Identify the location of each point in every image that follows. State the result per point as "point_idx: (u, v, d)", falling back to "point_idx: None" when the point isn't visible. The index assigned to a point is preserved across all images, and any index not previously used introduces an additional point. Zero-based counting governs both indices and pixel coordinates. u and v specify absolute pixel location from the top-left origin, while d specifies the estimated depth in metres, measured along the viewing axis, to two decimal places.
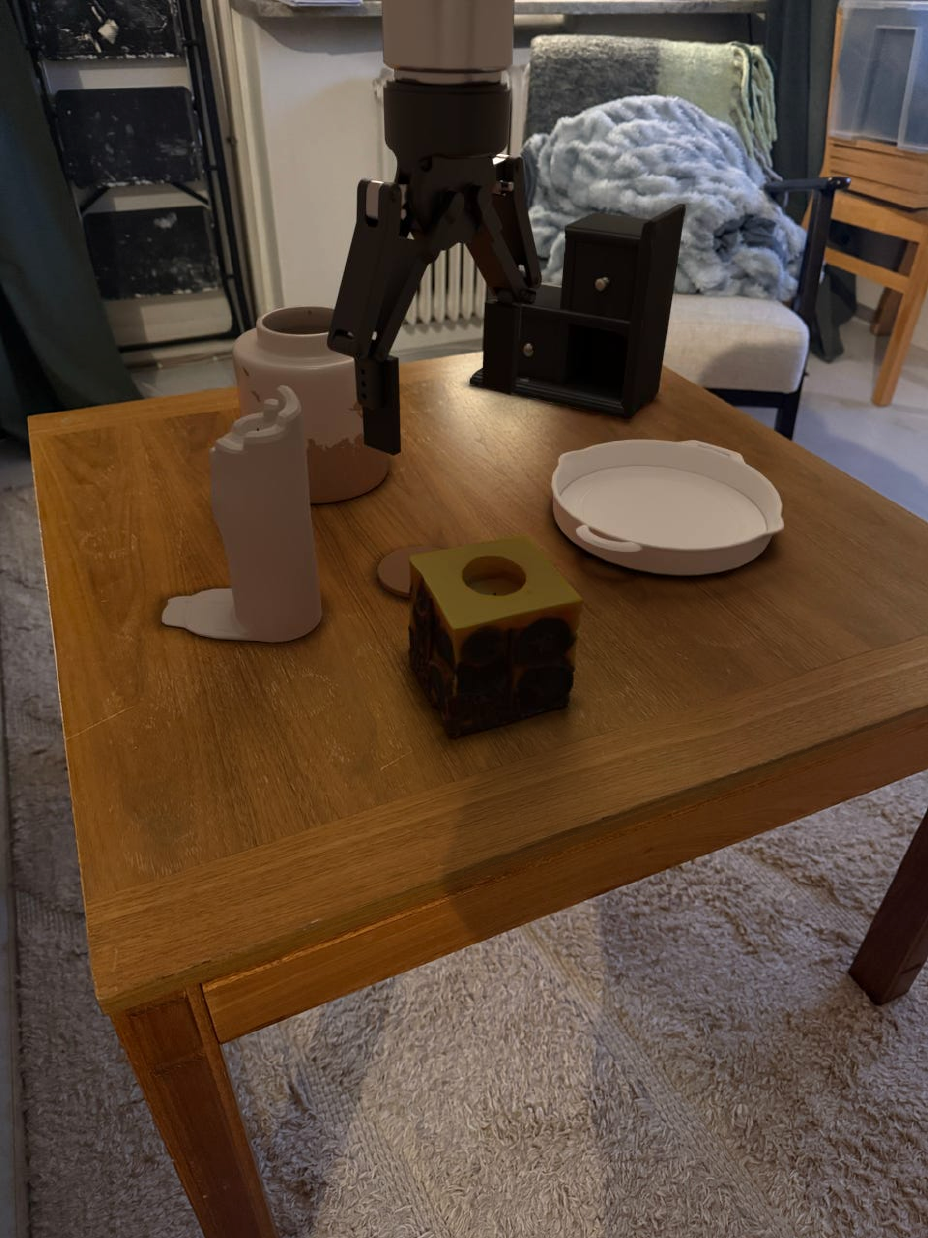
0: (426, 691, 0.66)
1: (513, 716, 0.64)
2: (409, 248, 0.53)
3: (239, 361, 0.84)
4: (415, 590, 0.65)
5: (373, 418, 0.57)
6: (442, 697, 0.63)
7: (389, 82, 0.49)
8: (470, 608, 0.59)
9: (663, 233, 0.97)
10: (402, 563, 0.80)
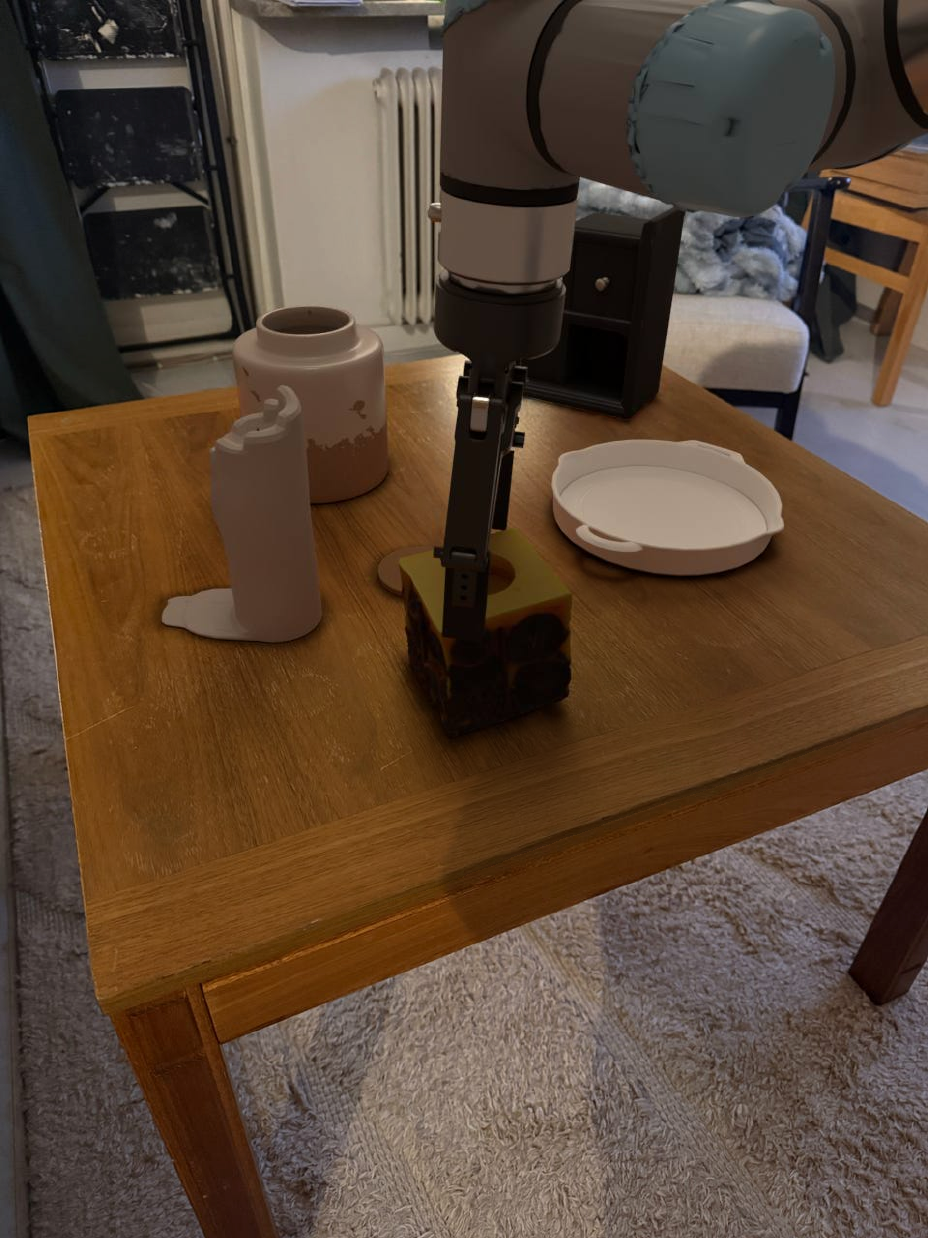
0: (425, 692, 0.66)
1: (512, 713, 0.64)
2: None
3: (239, 361, 0.84)
4: (407, 592, 0.64)
5: (458, 612, 0.55)
6: (439, 699, 0.63)
7: (462, 291, 0.47)
8: None
9: (663, 233, 0.97)
10: None
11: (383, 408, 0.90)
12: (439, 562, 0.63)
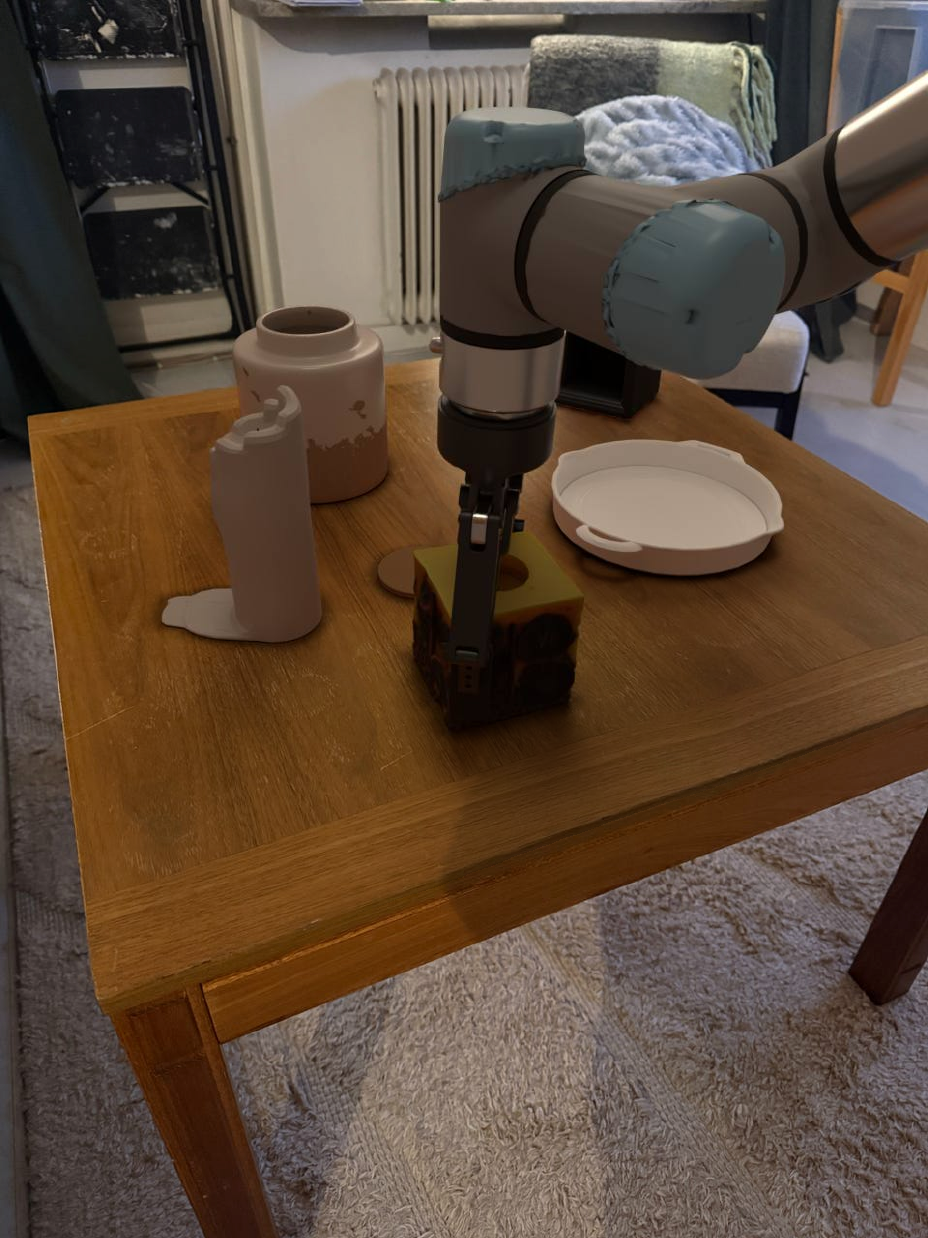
0: (429, 685, 0.67)
1: (514, 711, 0.64)
2: None
3: (239, 361, 0.84)
4: (419, 584, 0.65)
5: (464, 695, 0.60)
6: (444, 691, 0.63)
7: (461, 418, 0.52)
8: None
9: None
10: (402, 563, 0.80)
11: (383, 408, 0.90)
12: (454, 557, 0.64)
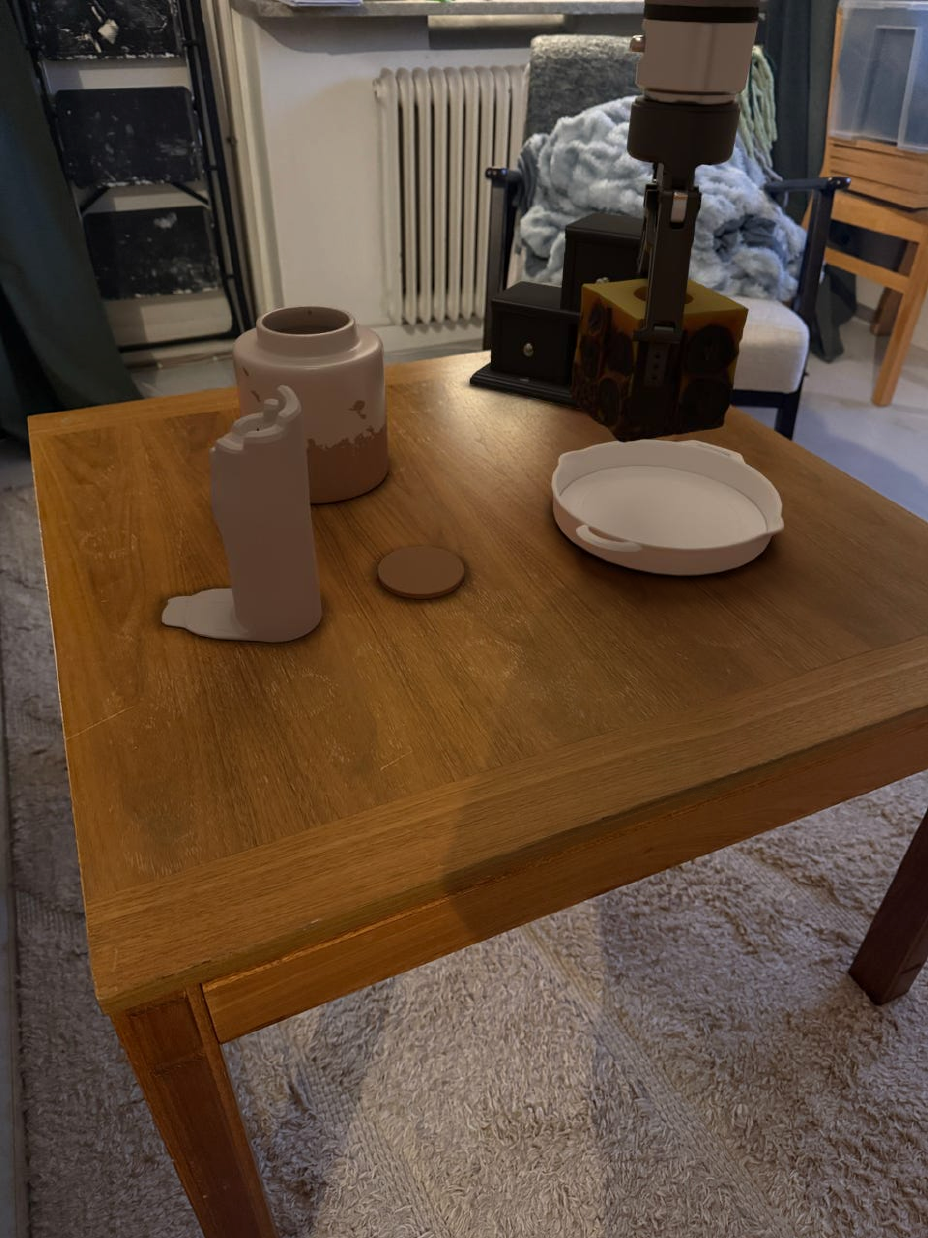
0: (592, 415, 0.72)
1: (675, 430, 0.70)
2: None
3: (239, 361, 0.84)
4: (586, 317, 0.71)
5: (644, 396, 0.66)
6: (613, 407, 0.69)
7: (662, 104, 0.58)
8: None
9: None
10: (402, 563, 0.80)
11: (383, 408, 0.90)
12: (621, 287, 0.70)
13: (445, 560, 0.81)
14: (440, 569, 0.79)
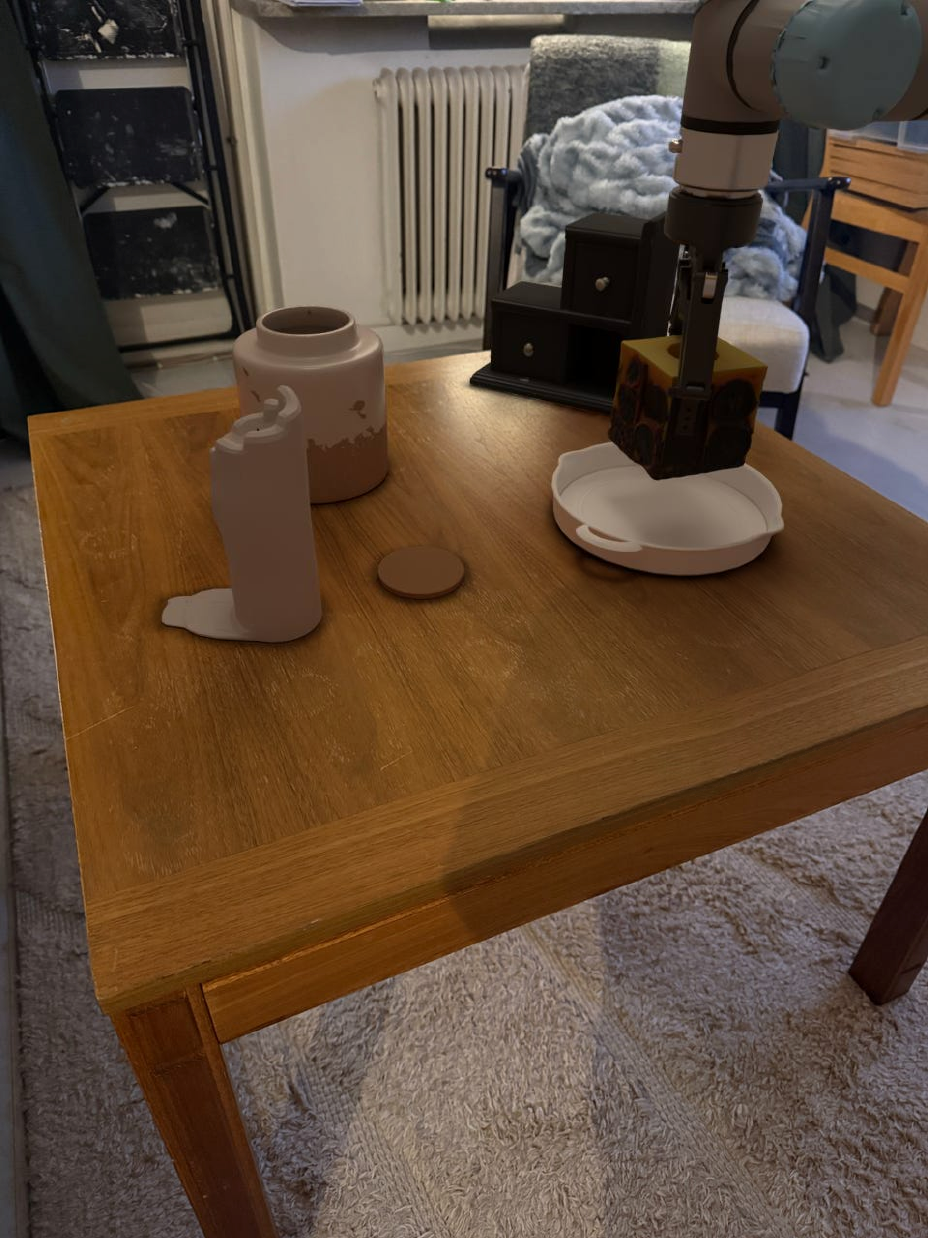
0: (628, 454, 0.82)
1: (702, 469, 0.80)
2: None
3: (239, 361, 0.84)
4: (625, 369, 0.81)
5: (676, 442, 0.76)
6: (648, 449, 0.79)
7: (695, 199, 0.68)
8: None
9: (663, 233, 0.97)
10: (402, 563, 0.80)
11: (383, 408, 0.90)
12: (655, 344, 0.80)
13: (445, 560, 0.81)
14: (440, 569, 0.79)
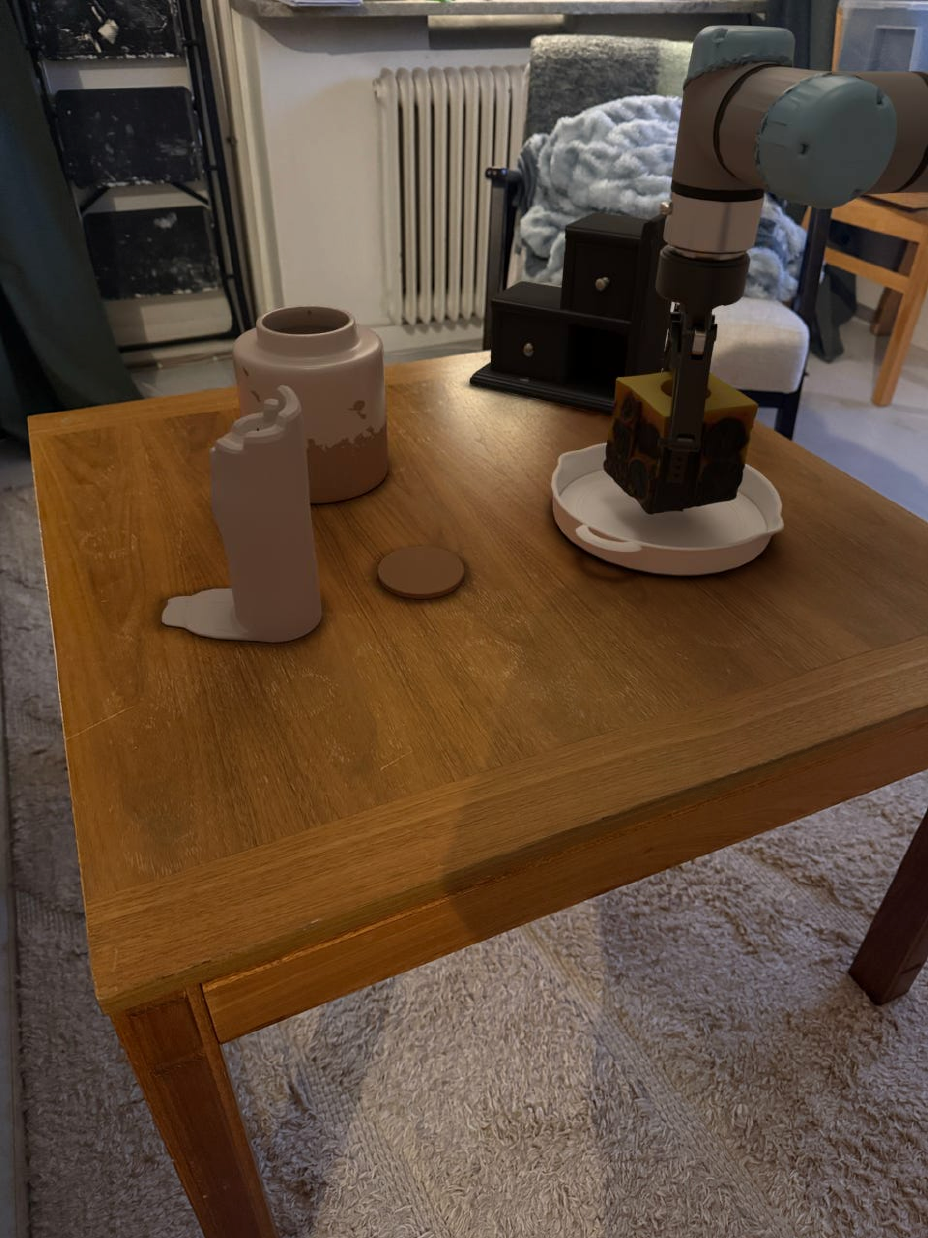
0: (623, 487, 0.85)
1: (695, 503, 0.82)
2: None
3: (239, 361, 0.84)
4: (619, 405, 0.83)
5: (668, 488, 0.78)
6: (642, 484, 0.81)
7: (685, 260, 0.71)
8: None
9: (663, 233, 0.97)
10: (402, 563, 0.80)
11: (383, 408, 0.90)
12: (649, 381, 0.82)
13: (445, 560, 0.81)
14: (440, 569, 0.79)
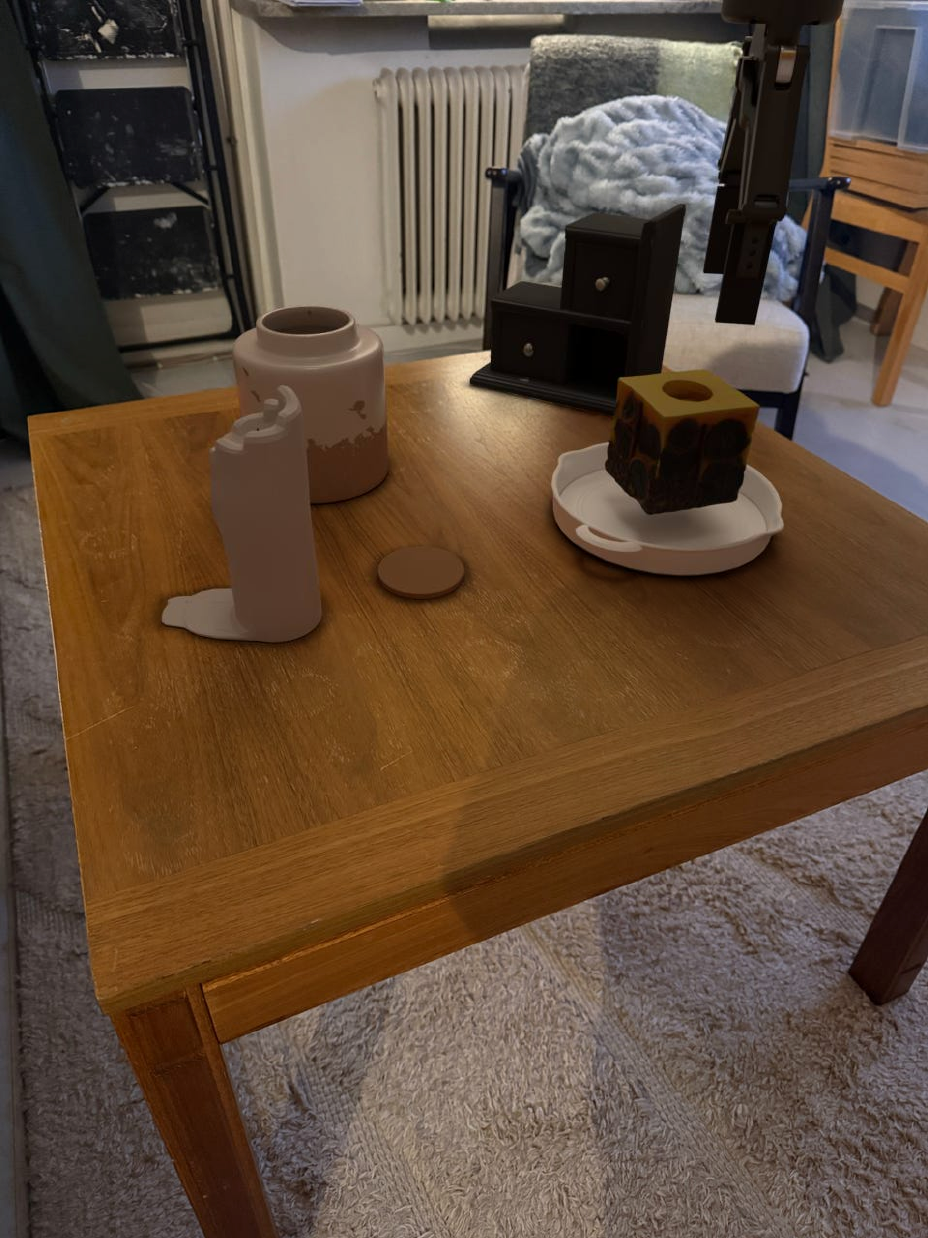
0: (623, 487, 0.85)
1: (695, 504, 0.82)
2: None
3: (239, 361, 0.84)
4: (621, 405, 0.83)
5: (736, 291, 0.60)
6: (642, 484, 0.81)
7: None
8: (675, 406, 0.77)
9: (663, 233, 0.97)
10: (402, 563, 0.80)
11: (383, 408, 0.90)
12: (651, 382, 0.82)
13: (445, 560, 0.81)
14: (440, 569, 0.79)
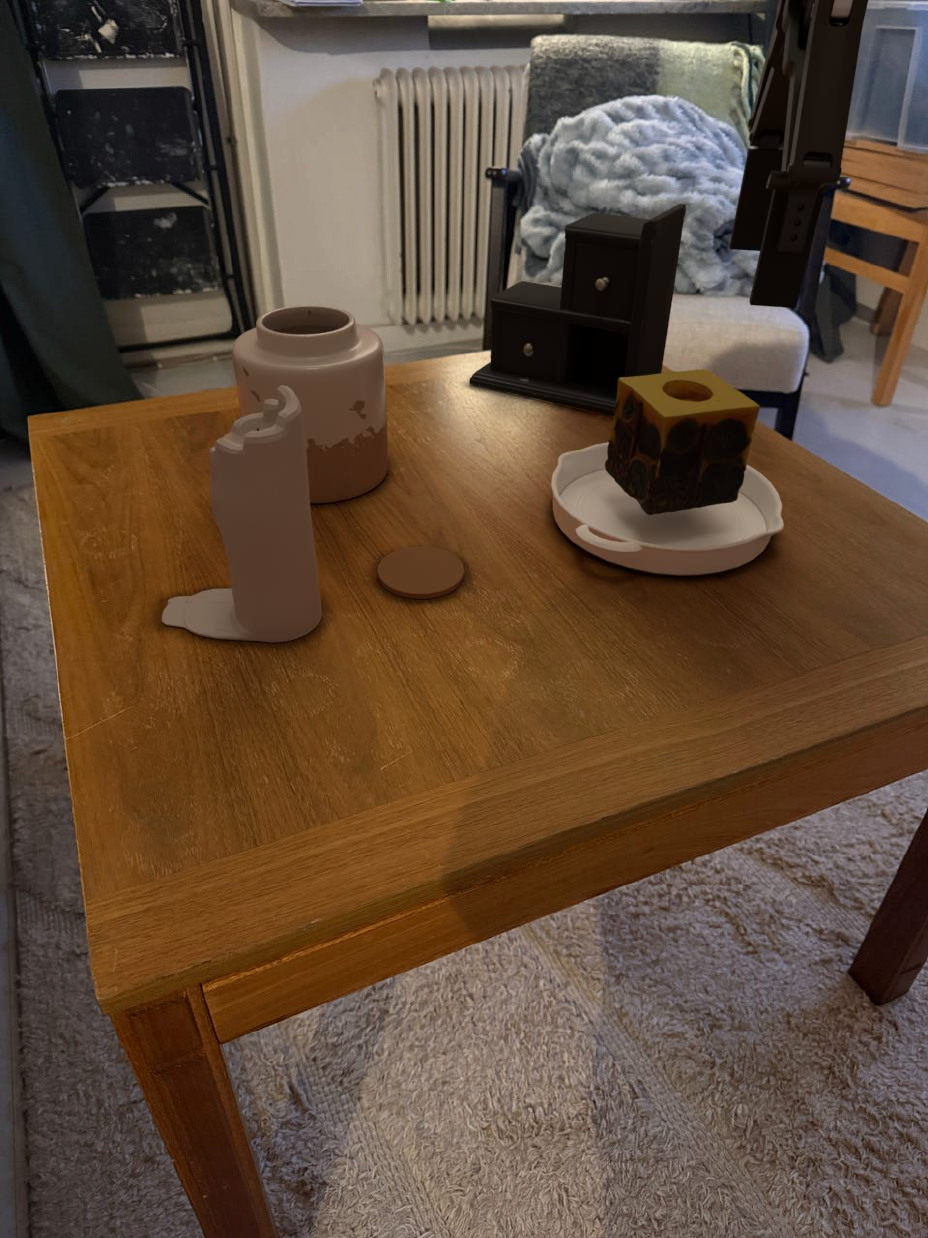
0: (623, 487, 0.85)
1: (695, 504, 0.82)
2: None
3: (239, 361, 0.84)
4: (621, 405, 0.83)
5: (775, 268, 0.51)
6: (642, 484, 0.81)
7: None
8: (675, 406, 0.77)
9: (663, 233, 0.97)
10: (402, 563, 0.80)
11: (383, 408, 0.90)
12: (651, 381, 0.82)
13: (445, 560, 0.81)
14: (440, 569, 0.79)
